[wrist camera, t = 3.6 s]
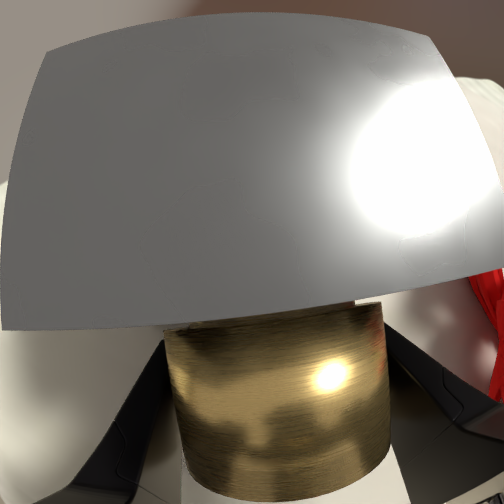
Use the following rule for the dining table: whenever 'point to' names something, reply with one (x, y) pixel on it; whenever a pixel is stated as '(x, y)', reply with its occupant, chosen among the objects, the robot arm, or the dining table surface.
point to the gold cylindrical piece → (282, 400)
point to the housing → (241, 174)
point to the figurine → (493, 320)
